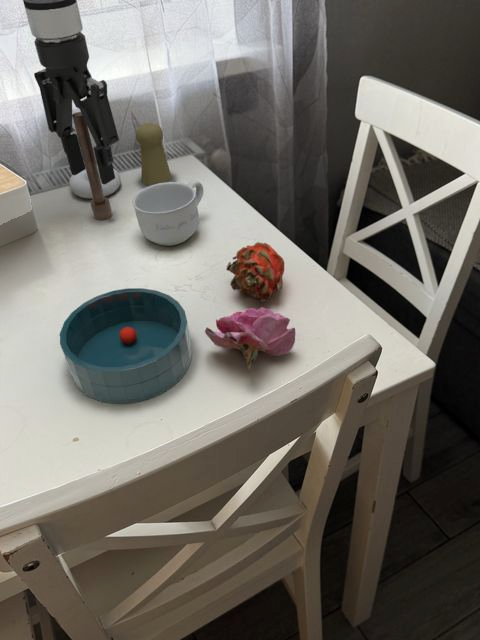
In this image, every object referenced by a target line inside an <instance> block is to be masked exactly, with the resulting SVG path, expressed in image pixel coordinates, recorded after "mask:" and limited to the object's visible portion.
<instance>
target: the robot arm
mask: <svg viewBox="0 0 480 640" xmlns="http://www.w3.org/2000/svg"><path fill="white" fill-rule="evenodd" d="M22 1H23V6H24V10H25V14H26V18H27V22H28V25H29V29H30V34H31V35H32V36H33V37H34V38H35V40H34V42H33V43H34V46H35V49H36V53H37V57H38V60H39V64H40V65H41V66H42V67H43V69H41V70H39V71H36V72H34V74H33V75H34V79H35V81H36V83H37V86H38V88H39V92H40V96H41V100H42V101H41V102H42V105H43V110H44V115H45V118H46V123H47V128H48V130H49V131H50V133H55V134H56V136H57V137H58V138H59V139H60V141H61V145H62V148H63V151H64V154H65V155H66V157H67V162H68V164H69V165H68V166H69V169H70V173H71V176H72V175H77V174H78V173H80V172H82V171H84V170H85V164H84V160H83V156H82V152H81V148H80V144H79V140H78V136H77V133H74V132H75V131H76V128H75V127H73V117H72V115H73V104H74V106H75V107H76V108H77V109H79V112H81V113H82V115H83V118H84V120H85V122H86V124H87V126H88V130H89V134H90V136H91V137H92V139H93V142H94V143H95V145H96V146H93V151H94V156H95V160H96V164H97V166H98V170H99V174H100V178H101V182H102V184H104V185H105V184H107V183H108V182H110V181H112V180H113V179H115V174H114V169H115V168H114V165H113V164H114V157H113V152H112V146H113V145H114V144H116V143H118V142H119V140H120V138H119V135H118V131H117V127H116V123H115V119H114V116H113V112H112V109H111V105H110V101H109V98H108V97H109V96H108V84H107V82H106V80H104V79H101V80H100V81H98V80H97V79H95V78H93V76H92V74H91V72H90V71H89V68H88V62H89V60H90V53H89V49H88V45H87V40H86V35H85V34H84V33H82V31H83V23H82V18H81V14H80V9H79V4H78V0H22ZM113 168H114V169H113Z"/></svg>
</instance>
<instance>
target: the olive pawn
mask: <svg viewBox="0 0 480 640" xmlns="http://www.w3.org/2000/svg"><path fill="white" fill-rule="evenodd" d="M135 139H136V141H137V142H138V144H139V145H140V164H141V165H140V166H141V167H140V169H141V183H142V184H144V185H145V186H147V187H149V186H152V185H155V184H159V183H165V182H172V180H173V179H172V173H171V170H170V167H169V163H168V159H167V157H166V153H165V149H164V146H163V143H162V141H163V140H164V132H163V129H162V127H161V126H160V125H159V124H157V123H153V122H147V123H146V122H145V123H142V124H140V125H139V126H137V128H136V130H135Z"/></svg>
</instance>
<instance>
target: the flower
mask: <svg viewBox="0 0 480 640" xmlns="http://www.w3.org/2000/svg"><path fill="white" fill-rule="evenodd" d="M290 322H291V319H290V318H288V317H286V316H284V315H282V314H281V313H278V312H276V313H275V312H274V310H272V309H270V308H269V309H268V308H265V307H264V306H263V307H260V308H259V309H256V308H247V309H245V311H236V312H233V313H232V314H231V315H230V316H223V317H220V318H219V319H215V326H216V328H217V330H218V331H213V330H212V329H211V328H209V327H206V328H205V330H204V333H205V334H206V336H207V337H208V338H209V339H210V341H211V342H212V343H213V345H214V346H217V347H219V348H222V349H236V350H240V351H241V353H242V354H243V357H244V358H245V363H246V366H247V368H248V370H249V376H250V381H251V386H253V385H254V383H253V378H252V374H251V366H252V365H254V362H255V361H256V359H257V357H258V354H259V351H261V352H264V353H266V354H267V355H271V356H277V357H278V356H284V355H286V354H288V353H289V352H290V351H291V350H293V348H294V346H295V343H296V328H295V327H291V328H288V326H289V324H290Z"/></svg>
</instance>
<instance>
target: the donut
mask: <svg viewBox="0 0 480 640" xmlns="http://www.w3.org/2000/svg"><path fill="white" fill-rule="evenodd" d="M97 168H98V166H97ZM113 169H114V174H115V179H113V180H112V181H110V182H108V183H107V184H105V185H104V184H102V182H101V185H102V189H103V193H104V197H107V196H110V195H112V194H114V193H115V192H116V191H117V190H118V189H119V188H120V185H121V183H122V180H121V174H120V173H119V172H118V171H117V170H116V169H115V168H114V167H113ZM98 172H99V170H98ZM99 177H100V174H99ZM100 181H101V178H100ZM68 183H69V189H70V191H71V192H72V193H73V194H74V195H75V196H78V197H80V198H81V199H88V200H89V199H90V200H92V199H93V196H92V192H91V188H90V184H89V180H88V176H87V172H86V168H85V170H84V171H82V172H80V173H78V174H77V175H72V174H71V176H70V178H69V181H68Z"/></svg>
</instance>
